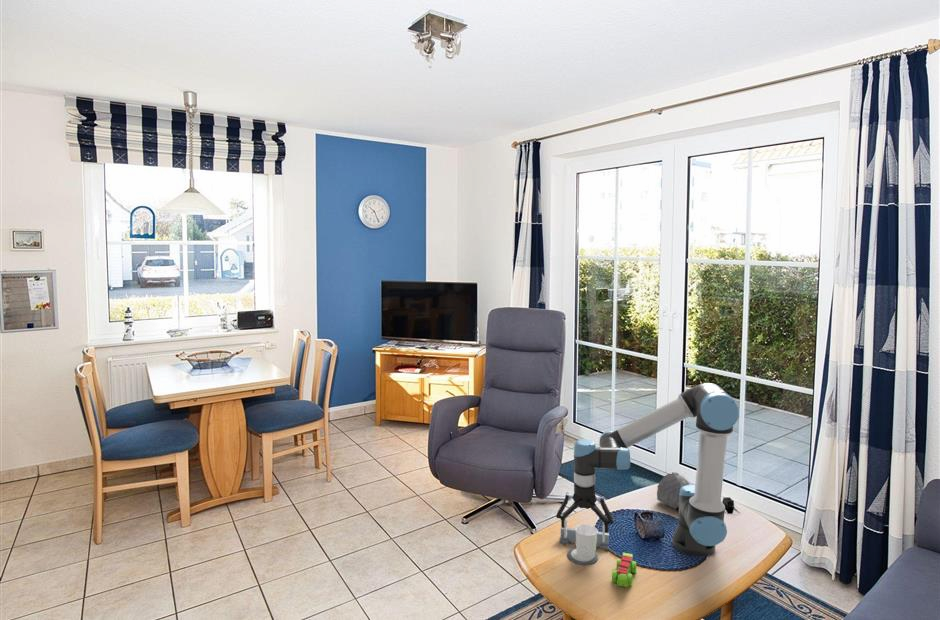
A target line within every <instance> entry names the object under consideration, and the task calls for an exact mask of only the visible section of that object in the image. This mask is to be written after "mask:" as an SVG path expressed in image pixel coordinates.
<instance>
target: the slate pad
mask: <svg viewBox="0 0 940 620" xmlns="http://www.w3.org/2000/svg"><path fill="white" fill-rule="evenodd" d="M567 558H568V560H570V561H571V562H573V563H575V564H578V565H581V566H589V565H594V564H596V562H598V560H599V556H598V553H597V552H596V551H595V557H594V559H591V560H583V559H581V558H579V557H578V556H577V553H576V546H575V547H572V548H570V549H569V550H568V551H567Z"/></svg>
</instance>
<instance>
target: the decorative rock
mask: <svg viewBox="0 0 940 620" xmlns="http://www.w3.org/2000/svg"><path fill="white" fill-rule="evenodd" d="M686 485H690V482H689V480H688V479H687V478H685V476H683V475H681V474H679V473H678V472H674V471H672V472H671V473H667V474H666V475H663V477H662V479H661V480H660V481H659V483H658V485H657V487H656V488H657V491H656V499H657V501H658V502H659V503H662V504H665V505H666V506H668V507H670V508H672V509H675V510H677V509H679V496H680V495H679V494H680V489H681V487H683V486H686Z"/></svg>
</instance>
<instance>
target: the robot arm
mask: <svg viewBox="0 0 940 620" xmlns="http://www.w3.org/2000/svg"><path fill="white" fill-rule="evenodd" d="M739 414H740V410H739V407H738V404H737V403H736V401H735V399H734V398H733V397H732V396H731V395H730V394H729V393H727V392H726V391H725V390H724V389H723V387H721V386H720V385H717V384H715V383H711V382H705V383H700V384H697V385H695V386H693V387H691V388H688V389H687V390H685V391H682V392H681V393H679V394H678V397H677V398H676V399H674V400H672V401H670V402H668V403H666V404H664V405H662V406H660V407H658V408H657V409H655V410H653V411H651V412H649V413H646V414H645V415H643V416H641V417H639V418H637V419H635V420H633V421H632V422H629V423H628V424H626V425H623V426H621V427H620V428H618V429H616V430H614V431H605V432H602V434H601V435H600V436H599V437H600V438H599V442H598V443H599V446H596V443H595V441H593V440H591V439H586V438H584V439H578V440H576V441H575V442H574V444H573V445H574V448H573V482H574V483H573V494H570V493H569V492H567V491H566V493H565V496H564V500H563V501H562V503H561V505H560V506H559V509H558V510H557V512H556V515H555V516H556V518H557V519H560V521H561V522H560V523H561V524H560V525H561V527H562V528H564V538H567V528H568V517H569V516H570V515H571V514H572V512H574V511H575V510H576V509H577V508H580V509H586V510H589V509H591V511H592V512H594V513H595V514H596V516H597V517H598V519H600V521H602V531H601V532H602V542H605V533H609V525H613V524H614V517H613V516H612V513H611V512H610V509H609V508H608V506H607V504H606V501H605V496H604V495H601V496H597V495H596V469H602V470H603V469H604V470H618V471H621V470H629V469H630V468H631V451H630V449H629V448H630V447H632V446H634V445H636V444H638V443H640V442H643V441H644V440H646V439H648V438H650V437H652V436H654V435H656V434H658V433H660V432H662V431H664V430H666V429H668V428H670V427H672V426H673V425H675V424H678V423H679V422H681V421H683V420H686V419H687V418H692V419H696V421H695V427H696V429H697V430H698V431H699V440H698V441H699V442H698V451H697V461H696V462H697V463H696V472H695V473H696V474H695V483H694V484H689V485H686V486H683V487H681V489H680V494H679V495H680V496H679V507H678V517H677V518H678V522H677V525H676V527H675V530H674V532H673V535H672V537H671V538H672V541H671V544H672V545H673V546H674V548H675V549H676V550H677V551H679V552H681V553H683V554H685V555H689V556H692V557H698V558H701V557H702V558H703V557H709V556H712V555H713V554H715V552H716V546H717V545H719V544H721V543H722V542H724V540H726V538H727V534H728V529H727V525H726V523H725V513H726V512H725V505H724V504H723V503H722V491H723V481H724V473H725V472H724V471H725V462H726V451H727V441H728V436H729V435H731V434H733V432H734V425H736V423H737V422H738V420H739V416H740V415H739ZM571 500H573V501H574V502H573V503H572V505H570V506H569V507H568V508H567V509H566V507H567V505H568V502H569V501H571ZM596 502H598V504H600V507H601V508H602V510H603V512H604V513H603V512H602V510H600V508H599V507H598V506H597V504H596ZM565 509H566V510H565ZM564 510H565V511H564ZM561 527H560V528H561Z"/></svg>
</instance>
